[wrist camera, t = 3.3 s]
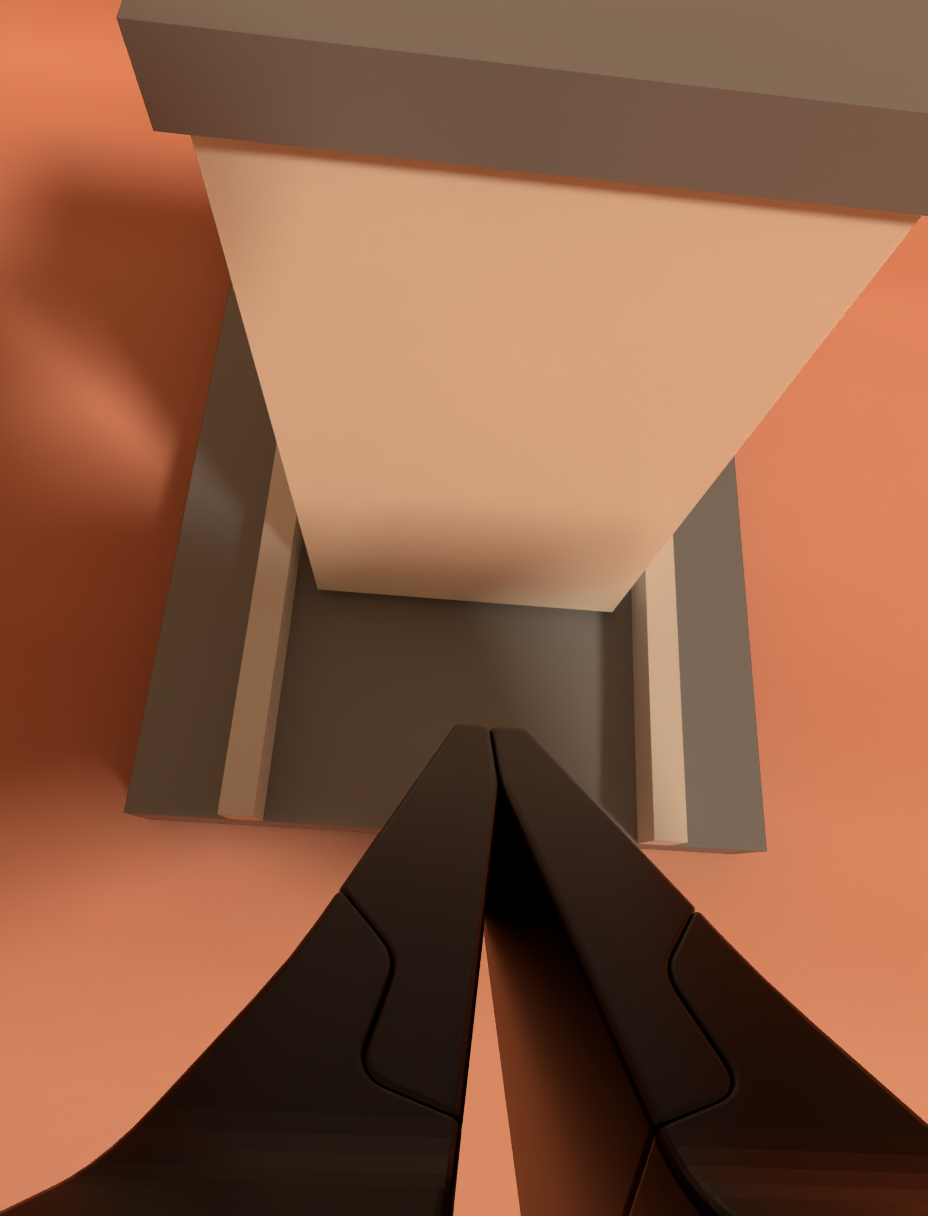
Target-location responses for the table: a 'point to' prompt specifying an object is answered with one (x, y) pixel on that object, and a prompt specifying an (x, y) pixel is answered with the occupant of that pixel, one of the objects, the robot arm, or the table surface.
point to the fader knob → (534, 254)
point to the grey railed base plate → (432, 667)
